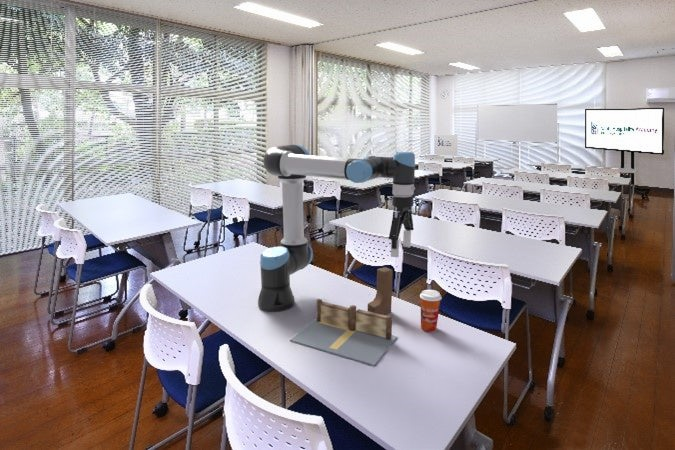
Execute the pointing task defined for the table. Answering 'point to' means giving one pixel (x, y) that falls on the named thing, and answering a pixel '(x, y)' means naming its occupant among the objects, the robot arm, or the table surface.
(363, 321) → the fence gate
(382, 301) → the wooden block
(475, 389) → the table surface
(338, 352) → the card
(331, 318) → the fence fixed
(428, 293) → the paper cup
